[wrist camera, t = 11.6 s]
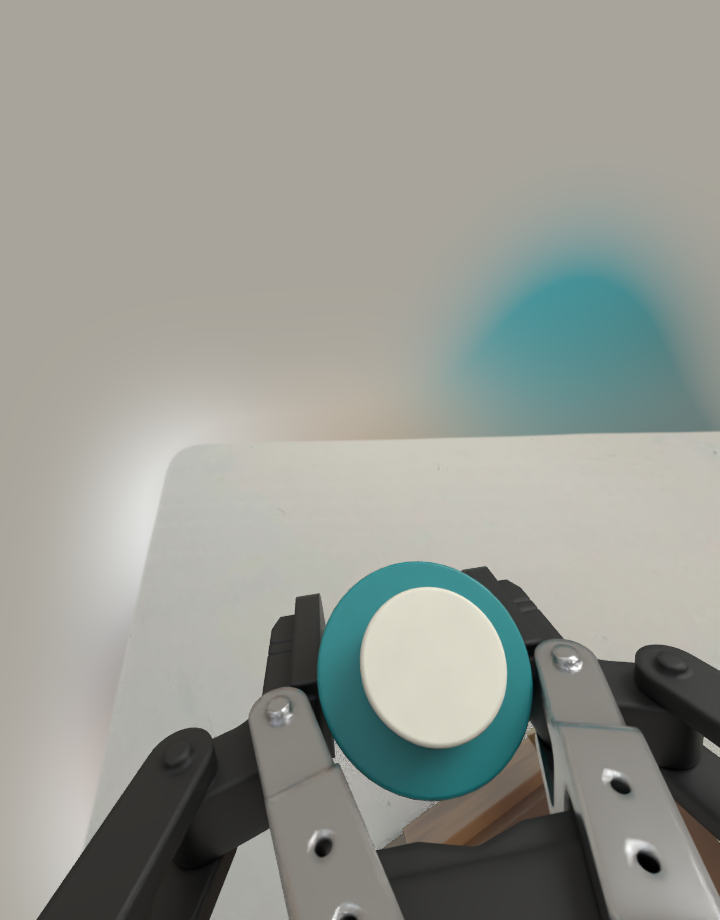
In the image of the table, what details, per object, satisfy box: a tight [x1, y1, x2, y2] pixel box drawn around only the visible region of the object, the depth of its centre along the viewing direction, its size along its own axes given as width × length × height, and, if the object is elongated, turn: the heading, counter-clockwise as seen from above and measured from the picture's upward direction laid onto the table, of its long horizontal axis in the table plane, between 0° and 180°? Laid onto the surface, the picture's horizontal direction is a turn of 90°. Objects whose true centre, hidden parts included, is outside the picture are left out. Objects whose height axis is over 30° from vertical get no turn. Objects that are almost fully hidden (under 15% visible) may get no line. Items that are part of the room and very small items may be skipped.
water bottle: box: [317, 561, 533, 801], centre depth 12 cm, size 4×4×10 cm
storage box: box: [384, 727, 720, 897], centre depth 21 cm, size 14×13×9 cm
